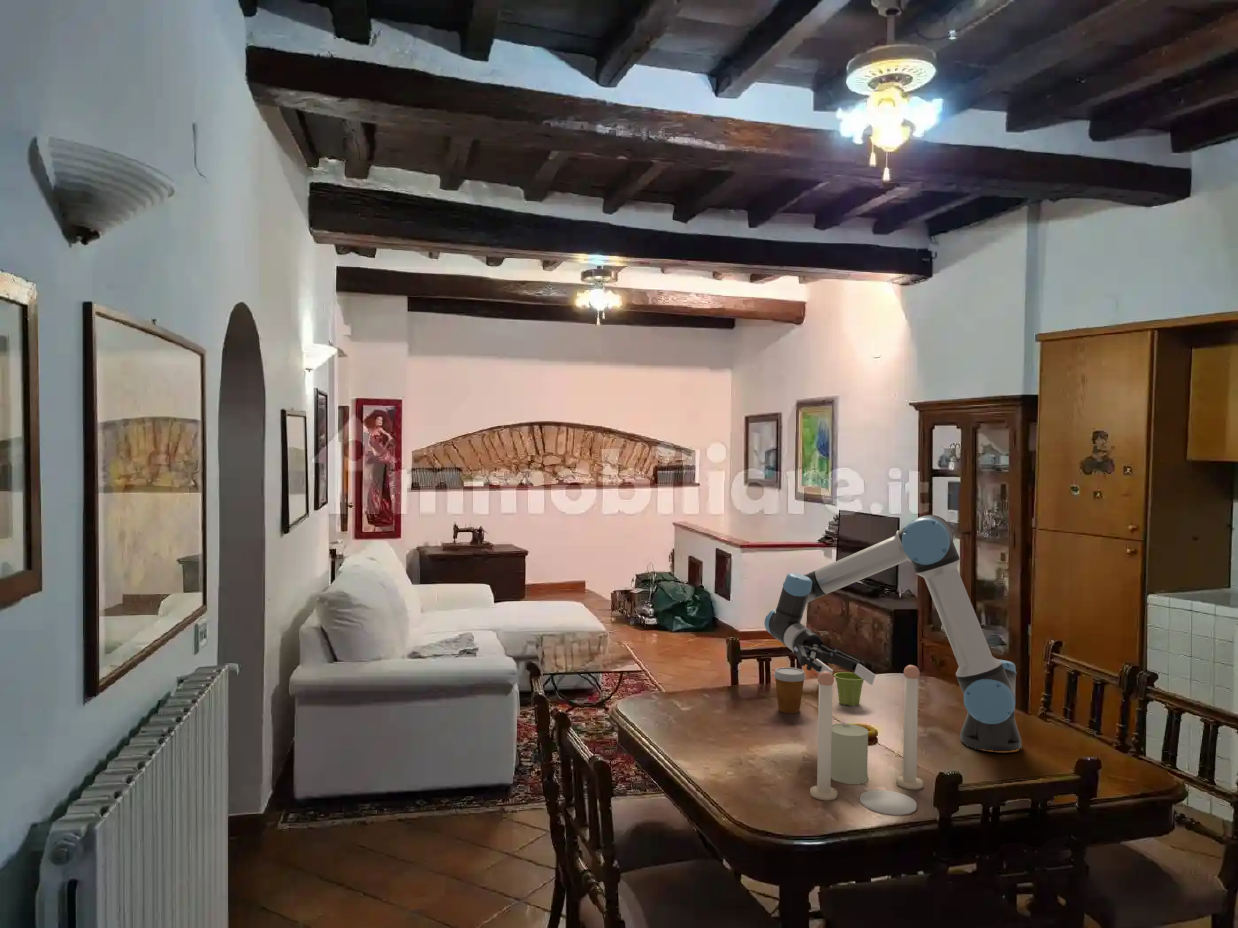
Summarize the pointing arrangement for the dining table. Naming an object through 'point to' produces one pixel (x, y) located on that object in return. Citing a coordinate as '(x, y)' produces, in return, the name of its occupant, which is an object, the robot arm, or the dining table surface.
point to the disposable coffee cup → (789, 688)
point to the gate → (825, 734)
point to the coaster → (888, 802)
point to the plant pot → (848, 688)
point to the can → (849, 753)
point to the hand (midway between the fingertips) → (852, 677)
